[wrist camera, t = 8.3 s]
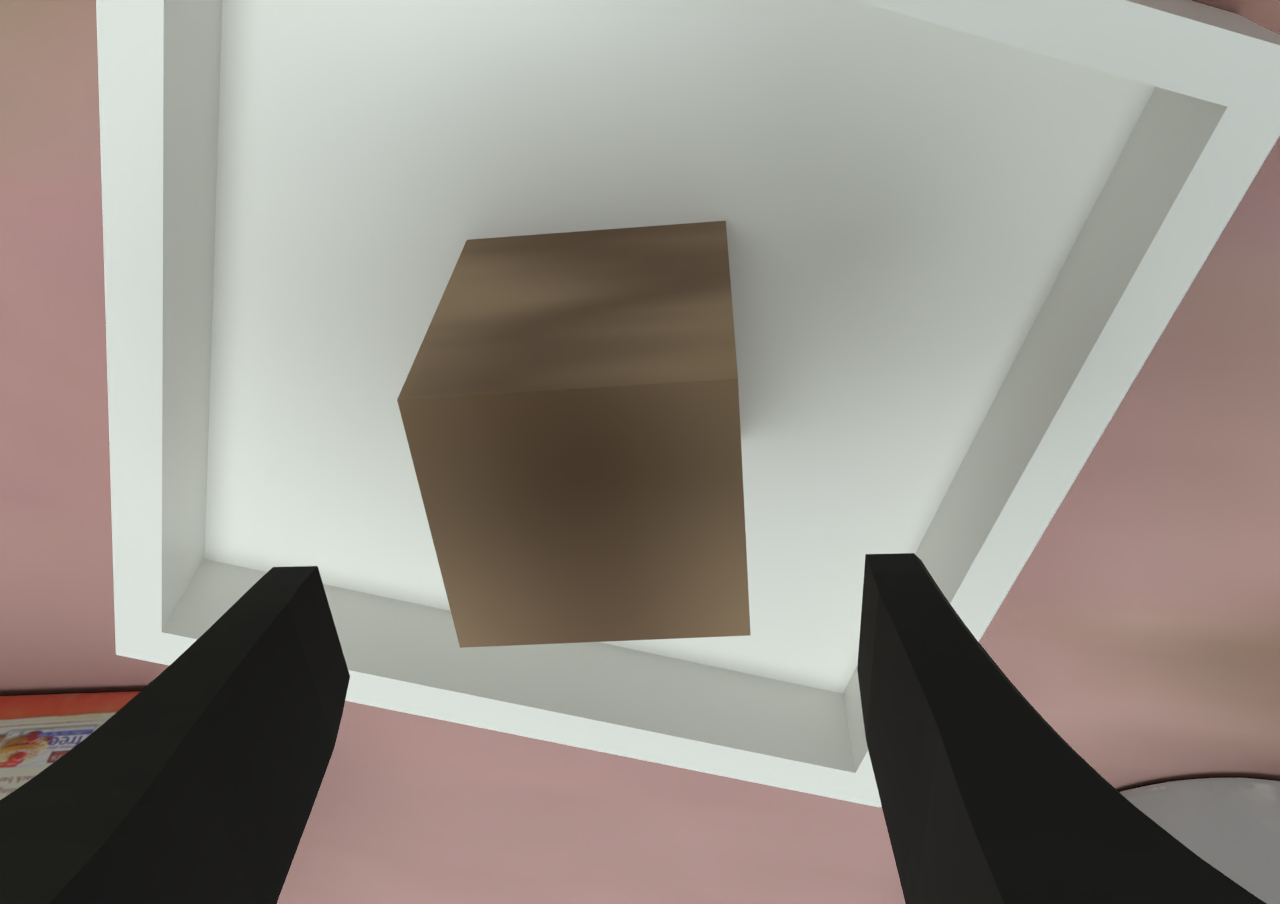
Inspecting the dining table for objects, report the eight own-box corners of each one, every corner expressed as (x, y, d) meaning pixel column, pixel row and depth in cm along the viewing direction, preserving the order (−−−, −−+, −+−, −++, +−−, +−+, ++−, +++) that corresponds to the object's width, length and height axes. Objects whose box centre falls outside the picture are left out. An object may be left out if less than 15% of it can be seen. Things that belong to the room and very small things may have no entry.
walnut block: (725, 220, 20) (738, 379, 15) (737, 440, 23) (750, 635, 18) (466, 239, 21) (397, 399, 16) (508, 453, 24) (460, 647, 19)
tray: (1239, 14, 18) (1325, 58, 16) (863, 712, 28) (879, 807, 26) (177, -299, 17) (86, -304, 14) (169, 567, 26) (115, 655, 24)
